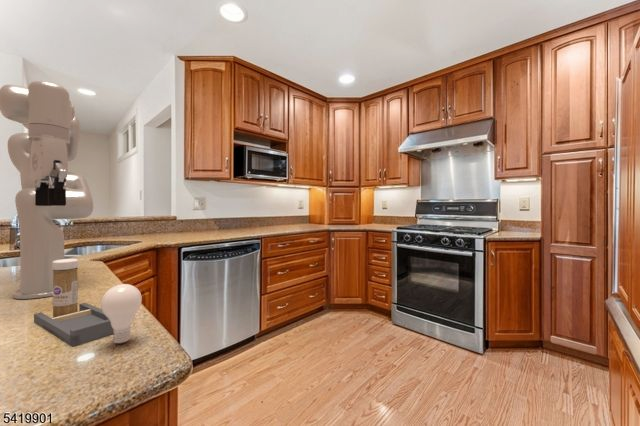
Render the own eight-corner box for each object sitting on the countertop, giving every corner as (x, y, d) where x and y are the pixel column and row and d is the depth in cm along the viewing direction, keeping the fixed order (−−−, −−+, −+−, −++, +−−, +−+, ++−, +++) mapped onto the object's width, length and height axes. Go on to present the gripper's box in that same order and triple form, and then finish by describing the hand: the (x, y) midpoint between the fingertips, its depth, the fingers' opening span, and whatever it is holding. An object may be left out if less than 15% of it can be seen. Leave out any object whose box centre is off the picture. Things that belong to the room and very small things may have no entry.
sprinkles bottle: (47, 322, 64) (46, 261, 64) (61, 315, 69) (60, 258, 69) (70, 321, 65) (70, 261, 65) (83, 313, 70) (82, 258, 70)
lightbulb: (121, 352, 51) (121, 289, 51) (91, 349, 52) (91, 288, 52) (149, 337, 57) (149, 281, 57) (122, 334, 58) (122, 279, 58)
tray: (33, 321, 65) (33, 309, 65) (85, 309, 73) (85, 298, 73) (72, 346, 53) (72, 331, 53) (128, 328, 61) (128, 315, 61)
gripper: (17, 136, 73) (18, 205, 74) (41, 126, 64) (42, 205, 64) (56, 142, 80) (57, 206, 80) (83, 134, 71) (83, 205, 71)
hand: (50, 205), depth 72 cm, fingers open, 8 cm apart
